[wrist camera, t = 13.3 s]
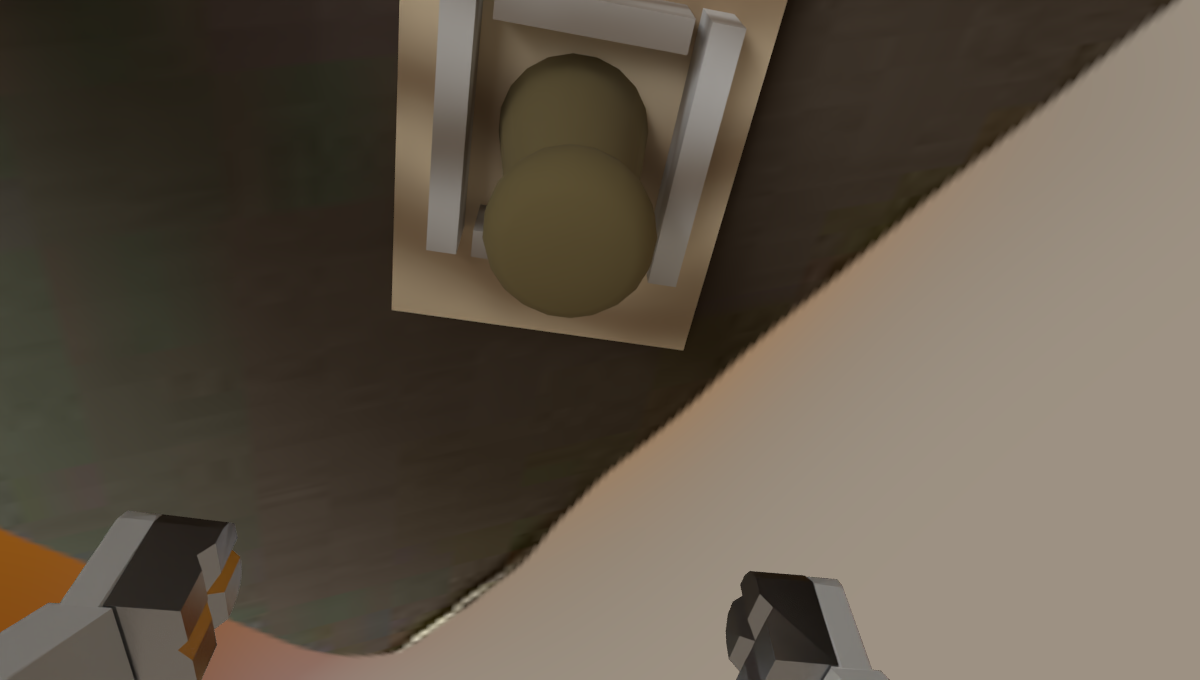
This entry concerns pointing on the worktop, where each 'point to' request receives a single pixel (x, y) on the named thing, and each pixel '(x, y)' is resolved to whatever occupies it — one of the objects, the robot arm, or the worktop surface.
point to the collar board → (473, 156)
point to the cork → (571, 189)
